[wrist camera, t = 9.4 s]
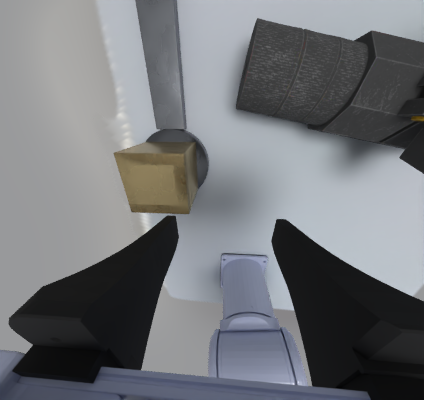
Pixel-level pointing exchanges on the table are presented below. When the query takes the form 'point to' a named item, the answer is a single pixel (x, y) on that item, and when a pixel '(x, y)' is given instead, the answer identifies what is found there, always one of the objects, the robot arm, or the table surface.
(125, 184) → the wood grain cube
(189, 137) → the ratchet
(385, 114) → the laser sight
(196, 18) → the table surface
